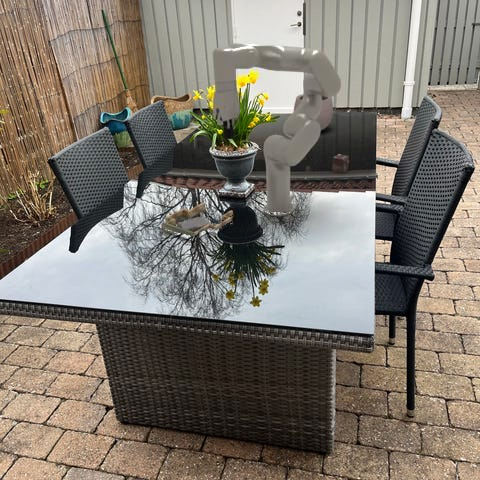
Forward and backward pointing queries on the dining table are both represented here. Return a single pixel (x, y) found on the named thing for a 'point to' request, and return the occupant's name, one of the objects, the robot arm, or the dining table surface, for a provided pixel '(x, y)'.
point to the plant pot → (325, 112)
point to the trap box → (185, 214)
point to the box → (340, 163)
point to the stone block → (193, 223)
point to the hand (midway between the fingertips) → (228, 138)
